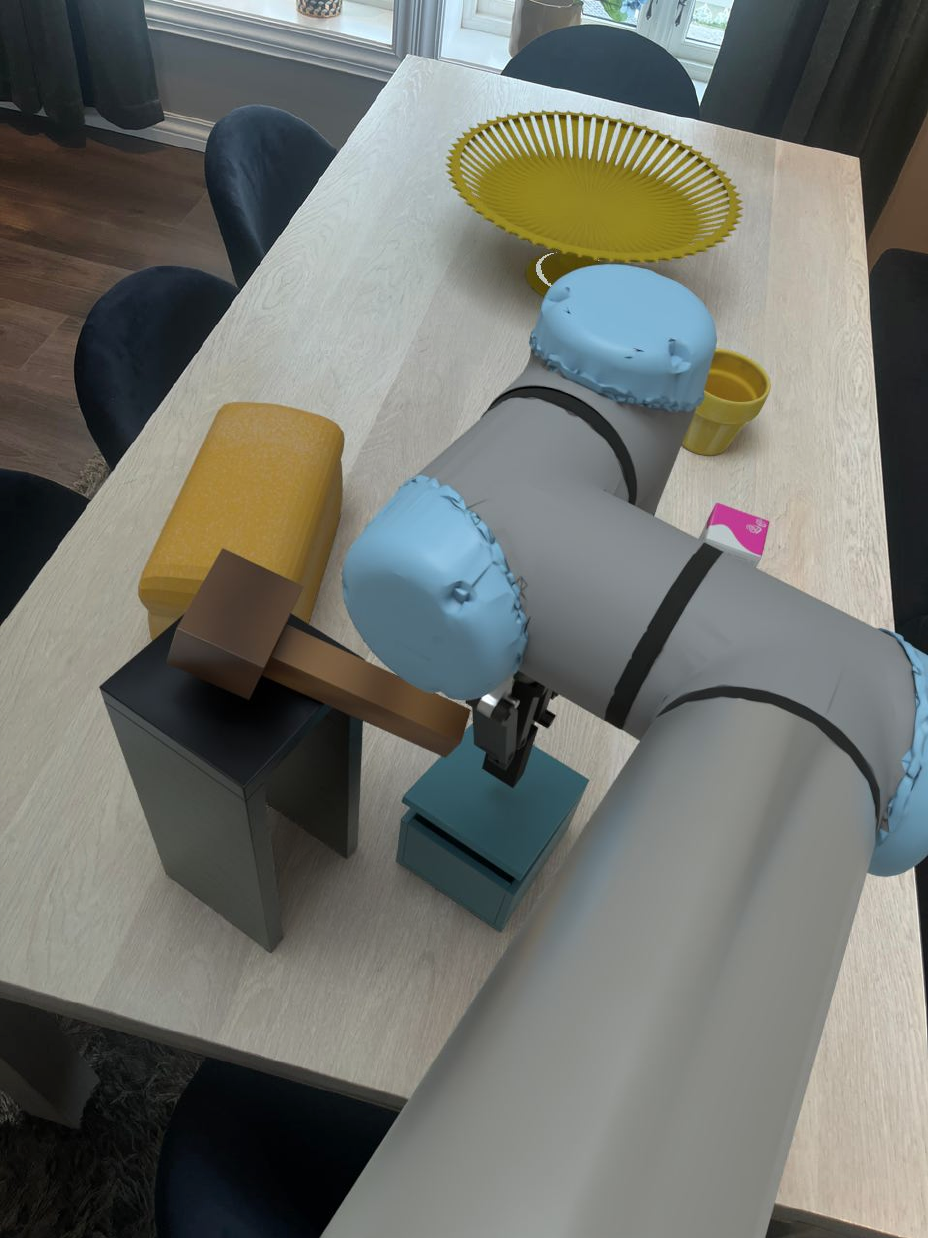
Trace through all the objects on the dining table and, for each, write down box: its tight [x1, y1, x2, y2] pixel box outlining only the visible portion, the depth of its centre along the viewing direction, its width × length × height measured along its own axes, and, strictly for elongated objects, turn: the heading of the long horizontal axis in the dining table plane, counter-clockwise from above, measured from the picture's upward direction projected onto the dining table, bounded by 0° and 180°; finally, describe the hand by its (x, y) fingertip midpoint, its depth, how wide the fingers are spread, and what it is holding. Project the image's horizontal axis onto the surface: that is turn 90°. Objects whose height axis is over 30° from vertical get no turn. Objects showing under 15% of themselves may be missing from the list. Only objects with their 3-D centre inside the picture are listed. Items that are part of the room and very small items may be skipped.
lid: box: [401, 722, 590, 881], centre depth 72 cm, size 12×10×1 cm
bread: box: [137, 401, 346, 642], centre depth 88 cm, size 24×13×15 cm, turn 172°
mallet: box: [166, 548, 472, 758], centre depth 53 cm, size 17×6×4 cm, turn 76°
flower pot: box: [681, 347, 772, 456], centre depth 112 cm, size 10×10×10 cm
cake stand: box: [445, 109, 744, 298], centre depth 129 cm, size 40×40×15 cm
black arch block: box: [98, 612, 366, 954], centre depth 66 cm, size 11×11×27 cm
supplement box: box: [698, 502, 770, 568], centre depth 94 cm, size 6×6×12 cm
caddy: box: [395, 785, 588, 933], centre depth 76 cm, size 11×10×8 cm
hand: (502, 771), depth 68 cm, fingers closed
